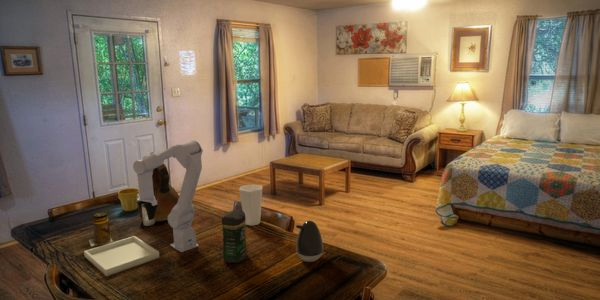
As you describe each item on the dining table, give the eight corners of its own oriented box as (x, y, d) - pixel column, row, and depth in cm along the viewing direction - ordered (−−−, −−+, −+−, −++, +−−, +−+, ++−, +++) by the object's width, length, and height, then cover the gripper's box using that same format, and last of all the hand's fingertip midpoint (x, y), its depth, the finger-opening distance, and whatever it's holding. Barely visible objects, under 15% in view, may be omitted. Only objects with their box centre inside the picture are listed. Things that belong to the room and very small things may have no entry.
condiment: (113, 241, 176) (110, 215, 174) (91, 246, 172) (87, 219, 169) (110, 236, 182) (107, 210, 180) (88, 240, 178) (85, 214, 175)
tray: (159, 257, 161) (158, 251, 161) (106, 276, 147) (105, 269, 147) (135, 241, 176) (134, 235, 176) (84, 257, 163) (84, 251, 162)
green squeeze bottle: (239, 265, 154) (237, 217, 150) (220, 262, 156) (217, 215, 152) (250, 254, 163) (248, 208, 159) (232, 251, 165) (229, 207, 161)
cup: (268, 221, 196) (267, 186, 193) (255, 228, 188) (253, 192, 184) (250, 217, 202) (248, 183, 199) (236, 224, 194) (234, 188, 190)
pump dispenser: (291, 255, 161) (291, 218, 158) (316, 251, 165) (316, 214, 161) (301, 267, 152) (301, 228, 148) (327, 262, 155) (327, 223, 152)
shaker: (157, 223, 178) (155, 203, 176) (146, 226, 174) (144, 206, 173) (152, 220, 181) (150, 200, 179) (141, 223, 178) (139, 203, 176)
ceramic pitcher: (165, 209, 215) (160, 152, 209) (191, 217, 203) (186, 157, 197) (131, 221, 199) (124, 160, 193) (156, 230, 188) (150, 165, 182)
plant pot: (144, 208, 217) (142, 190, 215) (125, 213, 209) (123, 195, 207) (135, 204, 224) (133, 186, 222) (116, 209, 216) (114, 191, 214)
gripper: (129, 185, 177) (132, 216, 179) (144, 192, 167) (147, 224, 169) (145, 182, 182) (147, 211, 184) (160, 188, 171) (163, 220, 174)
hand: (148, 217), depth 177 cm, fingers closed on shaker, 5 cm apart
